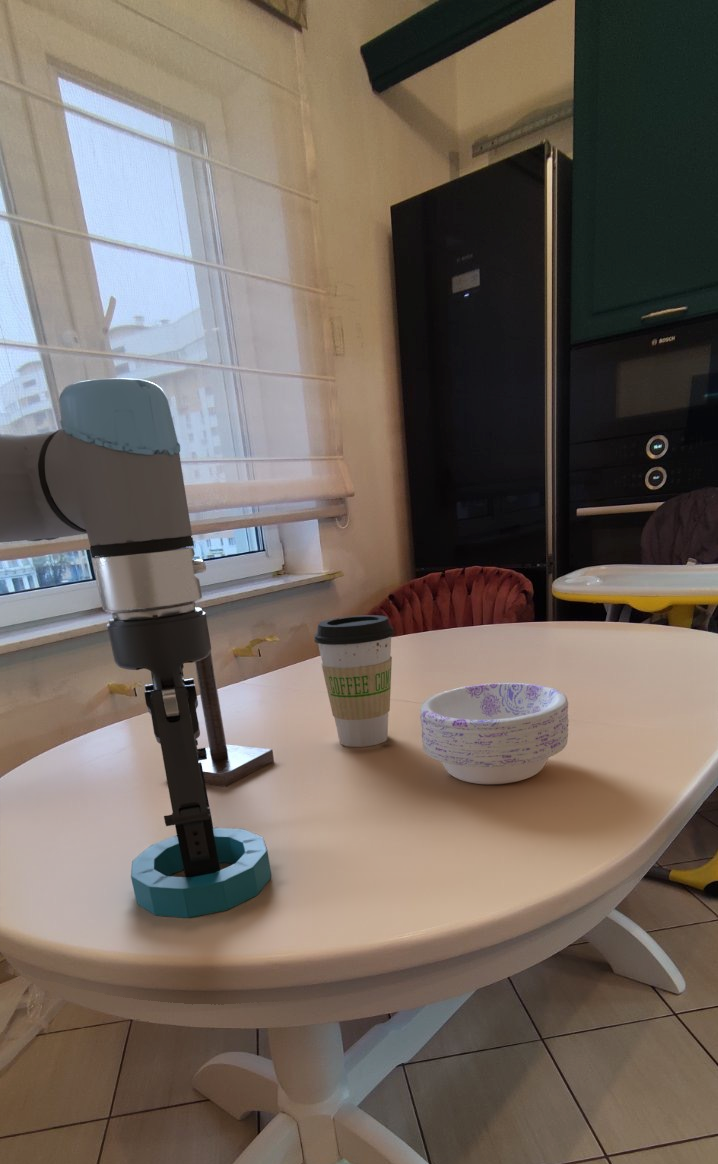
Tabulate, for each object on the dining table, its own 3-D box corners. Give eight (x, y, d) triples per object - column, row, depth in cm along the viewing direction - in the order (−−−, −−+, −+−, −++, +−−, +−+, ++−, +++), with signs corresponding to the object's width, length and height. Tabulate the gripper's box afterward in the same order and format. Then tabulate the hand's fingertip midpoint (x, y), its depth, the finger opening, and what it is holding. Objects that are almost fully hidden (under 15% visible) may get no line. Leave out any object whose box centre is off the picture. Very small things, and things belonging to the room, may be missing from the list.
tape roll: (110, 912, 57) (103, 884, 56) (178, 850, 66) (173, 826, 65) (236, 921, 53) (231, 892, 53) (288, 856, 63) (285, 830, 62)
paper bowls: (408, 793, 74) (402, 718, 71) (441, 747, 87) (438, 682, 84) (561, 800, 69) (562, 719, 66) (572, 749, 82) (573, 680, 79)
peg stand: (167, 778, 86) (141, 646, 80) (218, 754, 93) (197, 632, 87) (225, 786, 81) (202, 647, 75) (274, 760, 88) (256, 632, 82)
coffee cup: (358, 756, 87) (346, 630, 81) (310, 742, 94) (296, 625, 88) (417, 736, 92) (410, 616, 87) (368, 724, 99) (358, 612, 94)
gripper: (214, 623, 45) (262, 917, 53) (197, 592, 68) (232, 802, 76) (90, 639, 44) (158, 938, 52) (114, 602, 66) (159, 815, 74)
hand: (202, 858), depth 64 cm, fingers open, 13 cm apart
